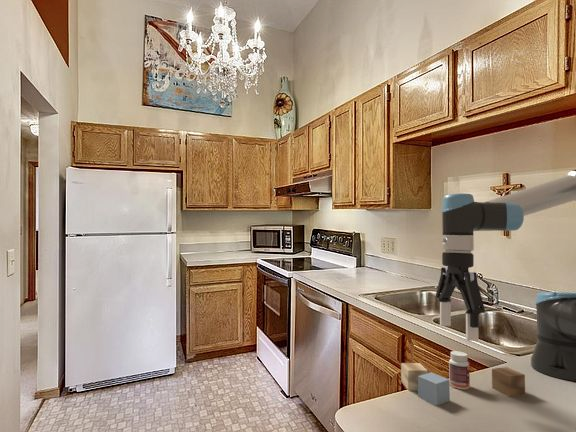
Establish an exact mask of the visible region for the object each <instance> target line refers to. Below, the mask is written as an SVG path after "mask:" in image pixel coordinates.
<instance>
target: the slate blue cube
mask: <svg viewBox="0 0 576 432" xmlns="http://www.w3.org/2000/svg"><path fill="white" fill-rule="evenodd" d="M450 386H451V385H450V383H449V378H447V377H444V376H442V375H440V374H436V373H435V372H433V371H432V372H428V373H427V374H424V375H420V376H418V390H417V393H418V394H417V395H418V398H420V399H421V400H424V401H425V402H428V403H430V404H431V405H433V406H436V407H437V406H439V405H442V404H444V403H447V402H449V401H450V399H451V398H450V395H451V393H450V389H451V387H450Z"/></svg>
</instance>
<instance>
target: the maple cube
mask: <svg viewBox="0 0 576 432" xmlns="http://www.w3.org/2000/svg"><path fill="white" fill-rule="evenodd" d="M400 370H401V371H400V373H401V374H400V377H401V378H400V379H401V380H400V382H401V383H402V384H403V386H404V387H405V388H406V390H407V391H418V376H420V375H424V374H427V373H429V371H428V369H427V368H425V367H424V366H423V365H422V364H421V363H420V362H411V363H410V362H401V363H400Z"/></svg>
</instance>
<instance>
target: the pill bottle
mask: <svg viewBox="0 0 576 432" xmlns="http://www.w3.org/2000/svg"><path fill="white" fill-rule="evenodd" d="M468 356H469V355H468V354H467V353H466V352H463V351H458V350H457V351H456V350H452V351H450V359H449V361H448V367H449V369H448V373H449V374H448V375H449V376H448V377H449V378H448V379H449V385H450V386H451V387H452V388H455V389H458V390H462V391H463V390H469V389H470V384H471V383H470V380H471V379H470V374H471V373H470V362H469V361H468V360H469V359H468V358H469V357H468Z"/></svg>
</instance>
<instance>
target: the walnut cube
mask: <svg viewBox="0 0 576 432" xmlns="http://www.w3.org/2000/svg"><path fill="white" fill-rule="evenodd" d="M491 388H492V389H493V390H495V391H497V392H499V393H501V394H502V395H505V396H507V397H509V398H511V397H518V396H520V397H521V396H525V395H526V376H525V374H524V373H523V372H522V373H521V372H520V371H517V370H514V369H512V368H511V367H508V366H503V367H497V368H496V367H495V368H491Z"/></svg>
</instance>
